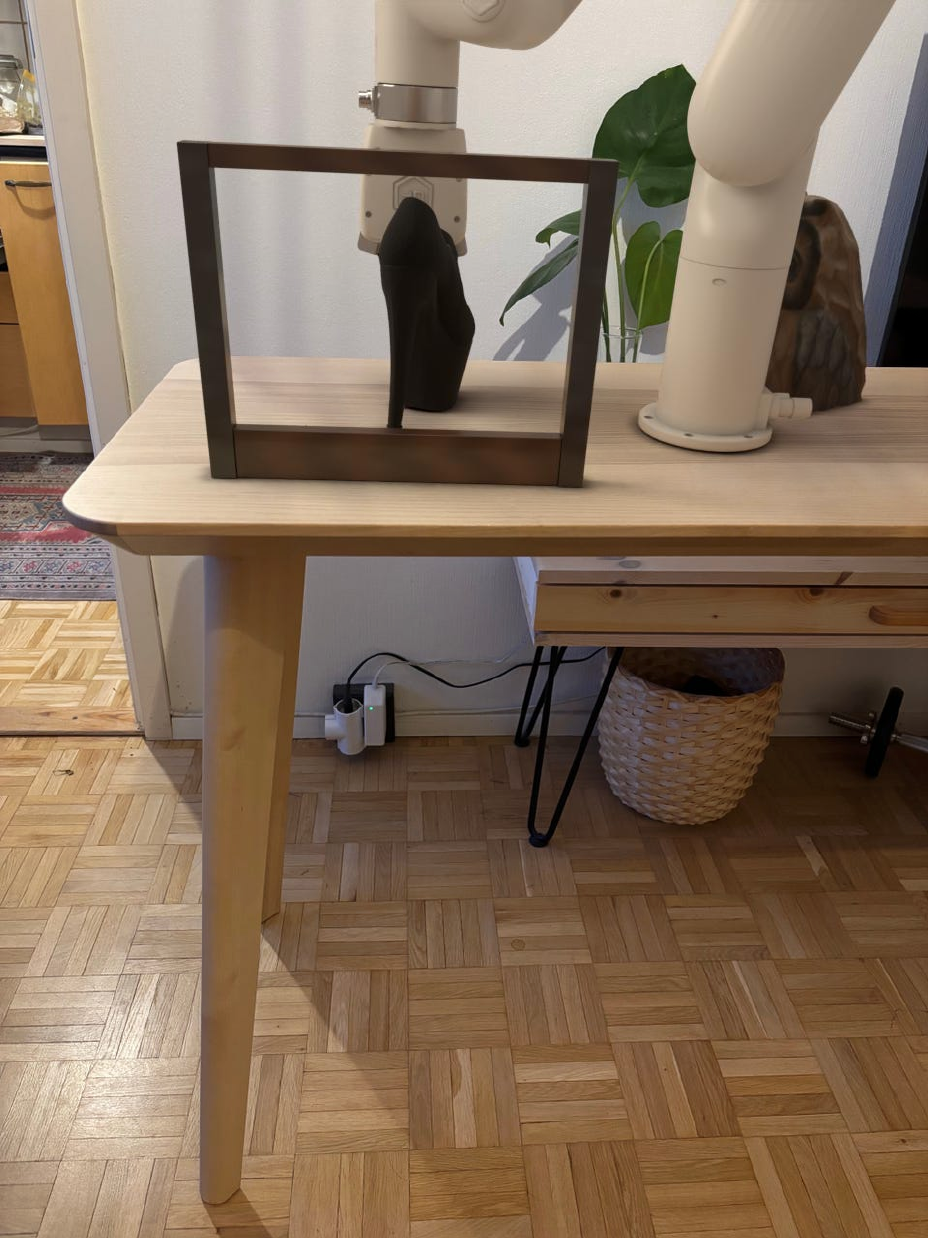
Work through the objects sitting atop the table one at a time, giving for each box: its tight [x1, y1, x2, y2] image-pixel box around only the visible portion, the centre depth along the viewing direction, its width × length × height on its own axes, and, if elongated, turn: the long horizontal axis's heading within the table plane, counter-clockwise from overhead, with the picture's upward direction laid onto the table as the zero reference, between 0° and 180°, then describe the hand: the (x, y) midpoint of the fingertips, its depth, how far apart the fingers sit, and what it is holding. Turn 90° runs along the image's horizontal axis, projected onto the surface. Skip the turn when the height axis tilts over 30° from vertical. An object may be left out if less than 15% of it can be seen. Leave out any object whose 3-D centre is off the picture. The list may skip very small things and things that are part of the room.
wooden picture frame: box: [176, 139, 620, 488], centre depth 69 cm, size 30×2×24 cm, turn 92°
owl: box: [764, 190, 868, 413], centre depth 96 cm, size 13×13×20 cm
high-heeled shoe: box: [376, 197, 476, 428], centre depth 86 cm, size 8×19×20 cm, turn 165°
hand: (411, 314), depth 93 cm, fingers closed
